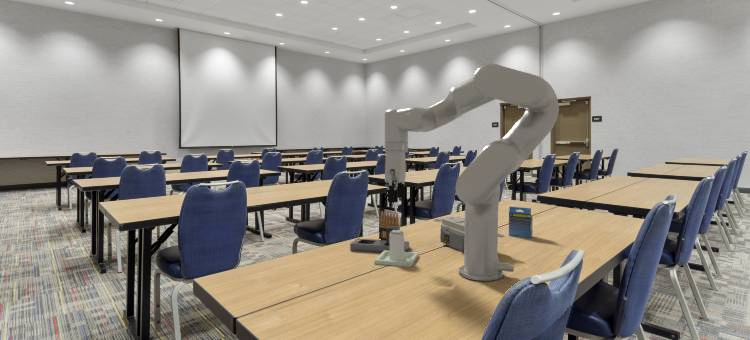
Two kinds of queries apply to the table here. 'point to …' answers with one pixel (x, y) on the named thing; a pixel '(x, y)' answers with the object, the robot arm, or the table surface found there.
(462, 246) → the electrical outlet
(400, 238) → the grey rectangular block
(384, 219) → the ammunition clip
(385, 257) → the tray
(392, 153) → the robot arm
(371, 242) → the dark grey holder base
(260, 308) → the table surface
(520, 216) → the label tape box
